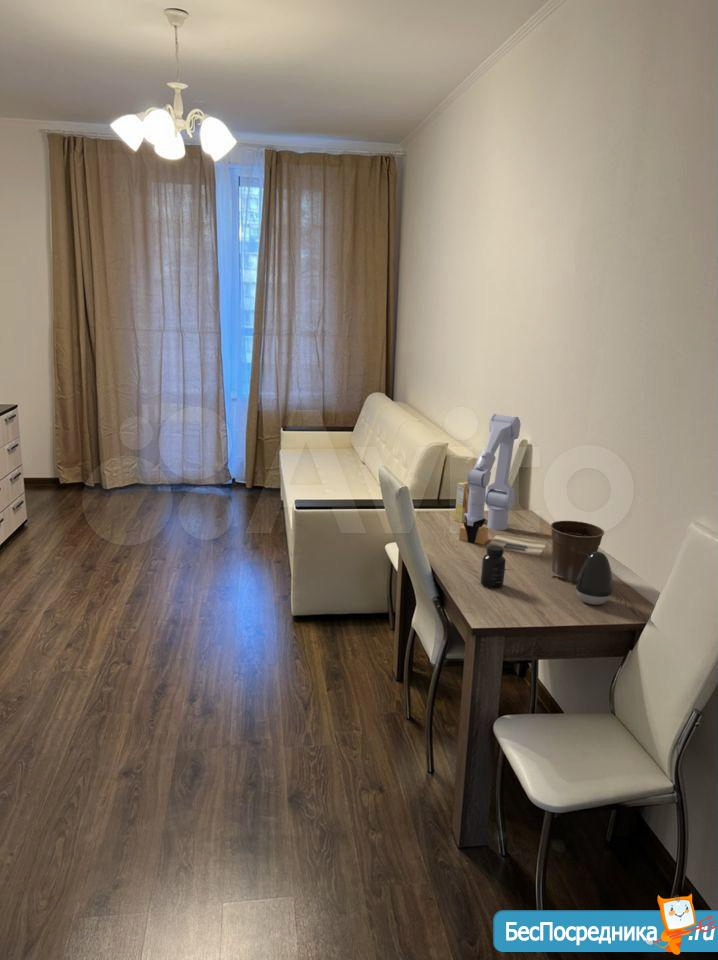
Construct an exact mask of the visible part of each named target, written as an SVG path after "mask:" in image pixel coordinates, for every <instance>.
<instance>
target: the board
mask: <svg viewBox="0 0 718 960" xmlns="http://www.w3.org/2000/svg"><path fill="white" fill-rule="evenodd" d="M507 542H508V543H514V544H520V545H526V546H527V548H525V551H521V550H515V549H509V548H504V545H506V543H507ZM547 544H548V542H546V541H540V540H539V541H538V540H534V539H527V538H521V537H515V536H510V535H509V536H508V535H504V534H496V535H495V536H494V537H493V538H492V540H491V541H490V542H489V543H488V544H487V545H486V548H487V547H488V546H491V545H496V546H500V547H502V548H503V551H509V552H515V553H520V554H521V553H522V554H526V555H533V556H539V557H540V556H541V554H542V552H543V550H544V549H545V546H546V545H547Z"/></svg>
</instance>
